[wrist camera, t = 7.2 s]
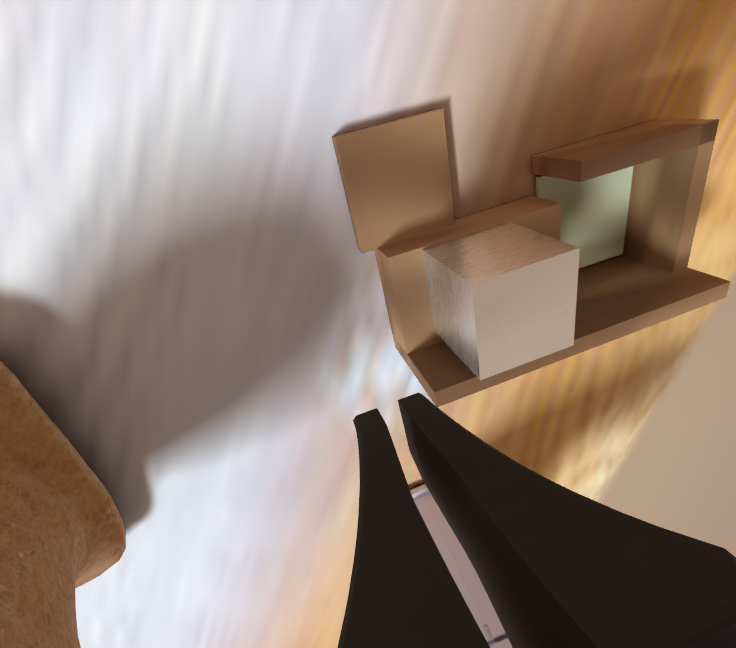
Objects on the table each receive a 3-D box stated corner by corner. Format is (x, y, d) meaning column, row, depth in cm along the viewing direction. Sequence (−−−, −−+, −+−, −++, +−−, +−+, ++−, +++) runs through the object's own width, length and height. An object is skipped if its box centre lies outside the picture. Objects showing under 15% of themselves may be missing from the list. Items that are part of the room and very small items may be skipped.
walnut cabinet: (632, 263, 22) (726, 297, 18) (382, 351, 20) (420, 413, 16) (662, 49, 17) (803, 24, 13) (331, 136, 15) (368, 142, 11)
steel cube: (512, 304, 18) (573, 345, 15) (434, 331, 18) (480, 380, 14) (509, 221, 16) (579, 247, 13) (422, 249, 16) (472, 284, 12)
